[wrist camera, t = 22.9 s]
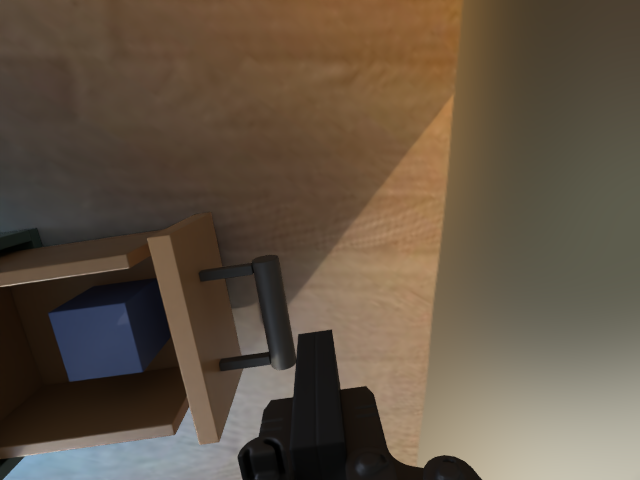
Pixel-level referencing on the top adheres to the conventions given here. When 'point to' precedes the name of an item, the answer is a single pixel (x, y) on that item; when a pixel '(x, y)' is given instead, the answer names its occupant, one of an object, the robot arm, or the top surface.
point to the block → (111, 329)
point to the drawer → (168, 365)
